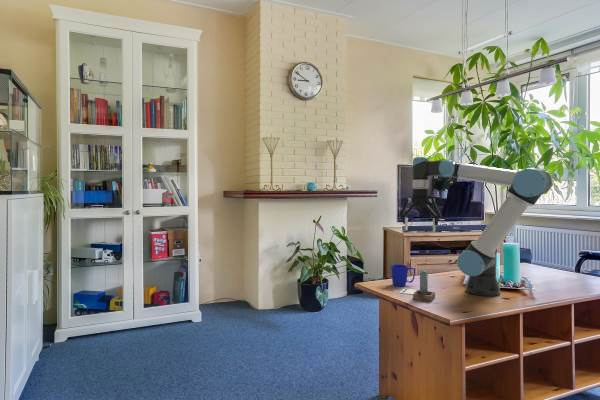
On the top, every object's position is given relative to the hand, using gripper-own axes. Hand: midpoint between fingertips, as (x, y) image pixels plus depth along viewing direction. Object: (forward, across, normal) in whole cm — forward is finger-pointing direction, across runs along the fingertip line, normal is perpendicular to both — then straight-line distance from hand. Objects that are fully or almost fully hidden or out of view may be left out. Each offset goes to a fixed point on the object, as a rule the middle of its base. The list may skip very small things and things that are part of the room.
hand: (419, 231), depth 197 cm
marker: (+28, -6, +18) cm, 34 cm away
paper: (+29, 0, +9) cm, 30 cm away
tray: (+29, -6, +18) cm, 34 cm away
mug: (+29, +9, -3) cm, 30 cm away
